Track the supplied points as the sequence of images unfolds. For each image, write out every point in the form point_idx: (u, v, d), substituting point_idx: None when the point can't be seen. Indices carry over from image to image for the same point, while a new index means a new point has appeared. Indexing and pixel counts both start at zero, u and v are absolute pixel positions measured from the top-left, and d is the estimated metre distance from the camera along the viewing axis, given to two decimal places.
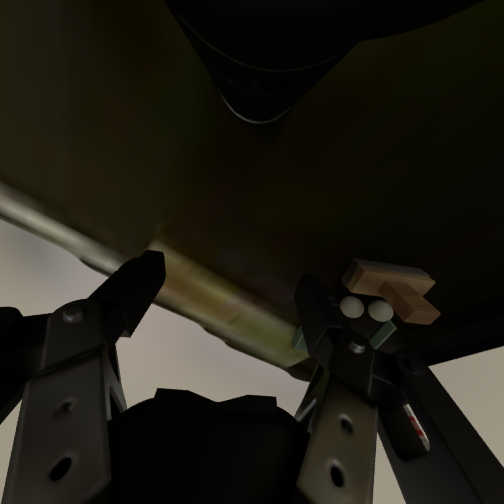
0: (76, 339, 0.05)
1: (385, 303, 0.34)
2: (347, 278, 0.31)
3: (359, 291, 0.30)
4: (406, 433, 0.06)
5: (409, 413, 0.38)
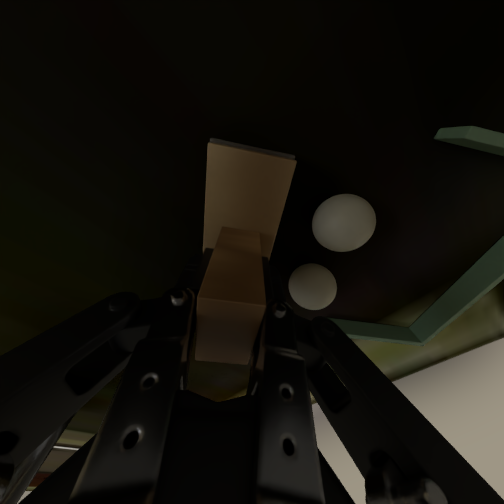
0: (189, 317, 0.06)
1: (315, 219, 0.12)
2: None
3: None
4: (332, 383, 0.07)
5: None
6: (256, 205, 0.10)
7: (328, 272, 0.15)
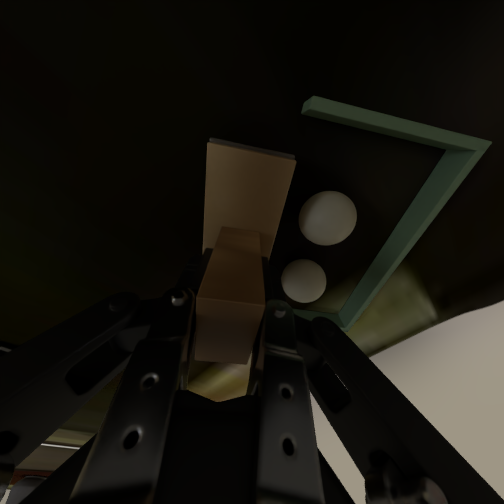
0: (189, 317, 0.06)
1: None
2: None
3: None
4: (331, 383, 0.07)
5: None
6: (256, 205, 0.10)
7: (305, 266, 0.15)
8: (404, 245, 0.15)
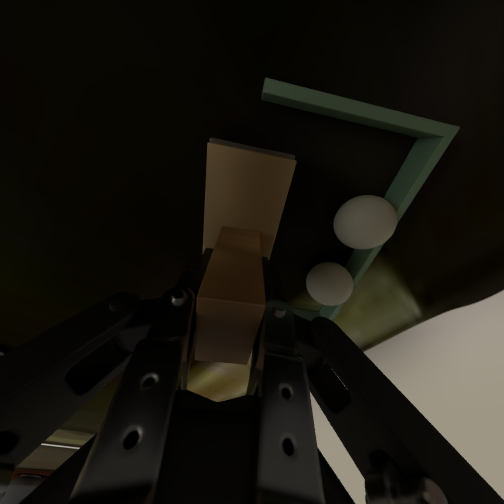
0: (189, 317, 0.06)
1: (345, 223, 0.12)
2: None
3: None
4: (331, 383, 0.07)
5: None
6: (256, 205, 0.10)
7: (344, 268, 0.16)
8: None
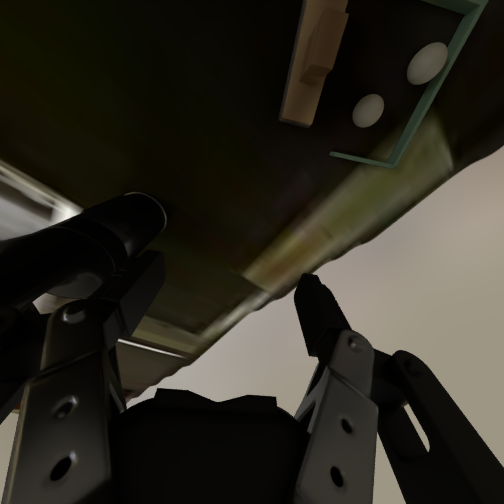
0: (76, 339, 0.05)
1: (412, 62, 0.24)
2: (299, 125, 0.28)
3: (311, 113, 0.26)
4: (406, 433, 0.06)
5: None
6: None
7: None
8: (438, 81, 0.25)
